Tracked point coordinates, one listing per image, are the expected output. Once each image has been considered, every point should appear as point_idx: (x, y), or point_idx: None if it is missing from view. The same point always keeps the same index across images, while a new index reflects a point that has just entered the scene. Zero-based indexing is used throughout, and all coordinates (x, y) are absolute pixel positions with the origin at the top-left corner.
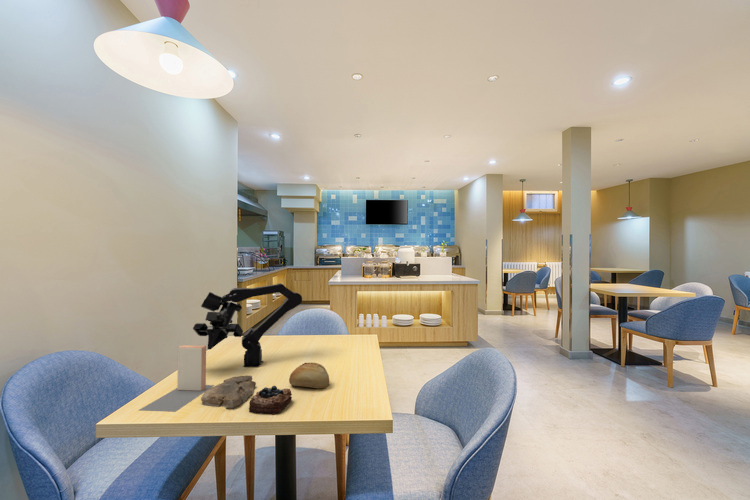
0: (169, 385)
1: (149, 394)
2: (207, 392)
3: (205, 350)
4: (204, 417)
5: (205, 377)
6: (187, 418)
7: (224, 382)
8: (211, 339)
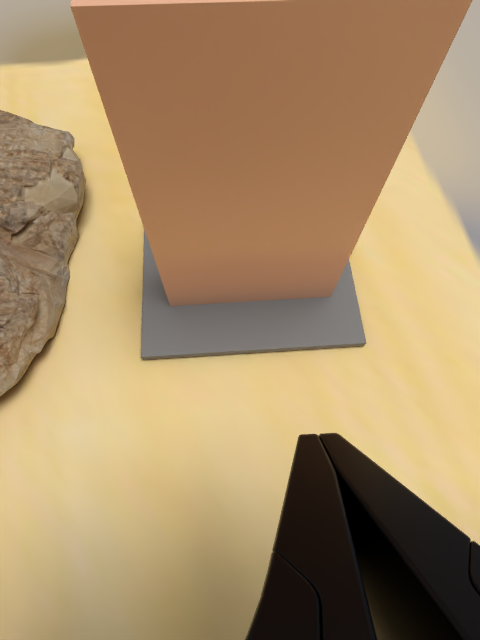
0: (458, 339)
1: (441, 222)
2: (44, 141)
3: (94, 65)
4: (10, 89)
5: (158, 266)
6: (74, 79)
7: (9, 273)
8: (403, 585)
